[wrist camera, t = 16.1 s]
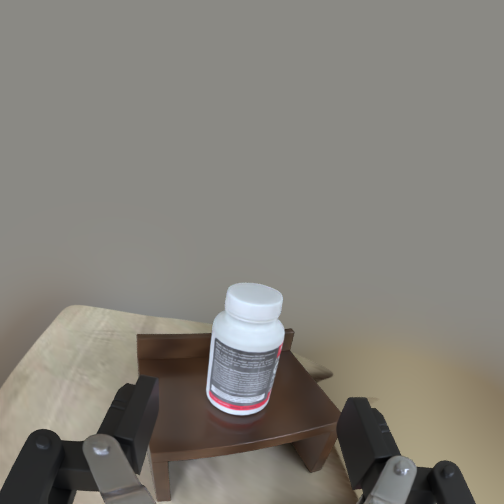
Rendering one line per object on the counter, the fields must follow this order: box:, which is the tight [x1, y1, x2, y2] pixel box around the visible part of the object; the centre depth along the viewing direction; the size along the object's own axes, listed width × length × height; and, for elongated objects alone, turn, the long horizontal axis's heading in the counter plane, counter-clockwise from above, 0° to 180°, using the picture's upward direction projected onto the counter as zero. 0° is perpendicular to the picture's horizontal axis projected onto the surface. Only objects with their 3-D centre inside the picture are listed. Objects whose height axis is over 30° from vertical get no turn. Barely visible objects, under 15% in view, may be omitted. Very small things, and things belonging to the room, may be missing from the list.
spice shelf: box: [137, 329, 341, 502], centre depth 26 cm, size 16×12×10 cm
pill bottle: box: [206, 283, 285, 415], centre depth 24 cm, size 5×5×10 cm
